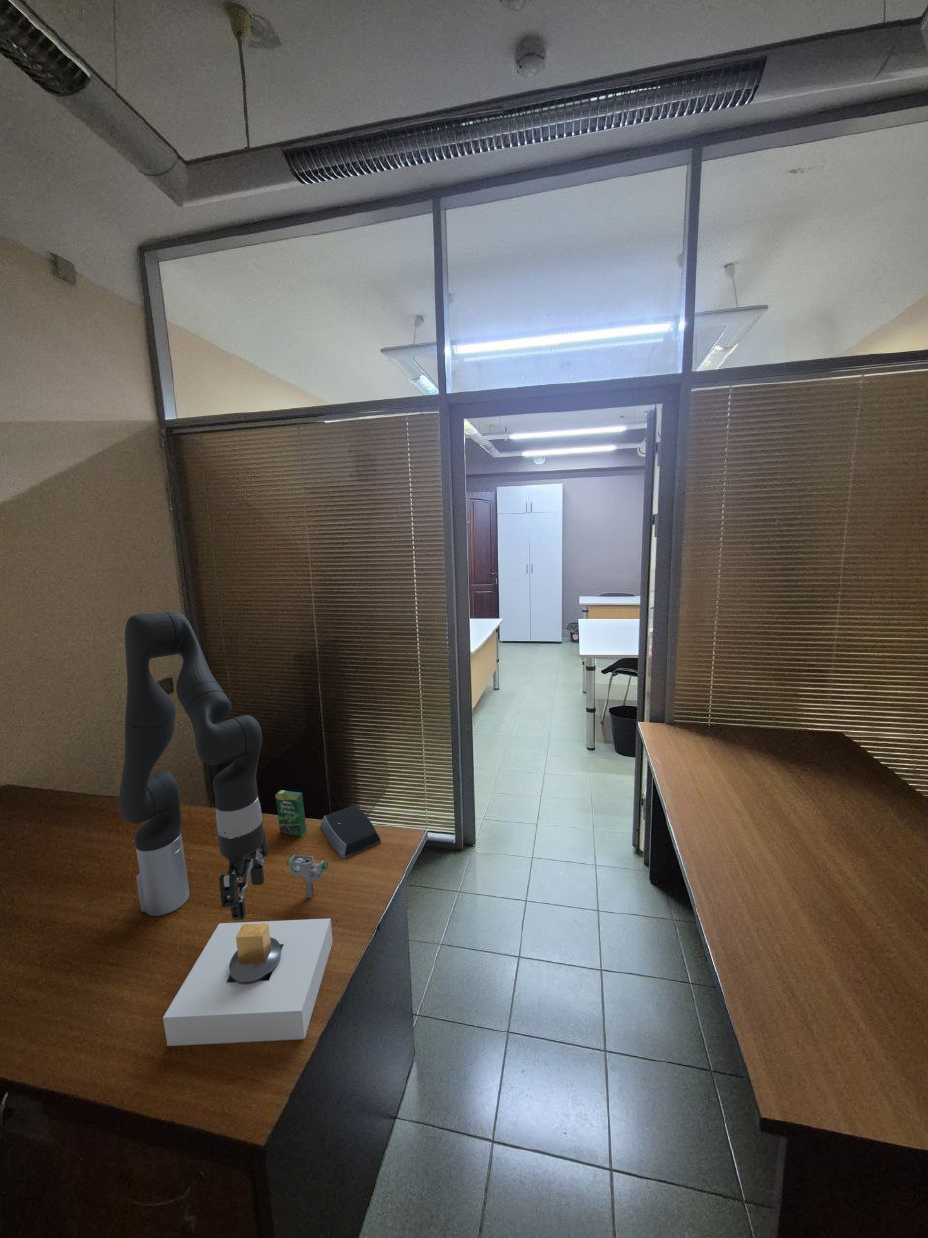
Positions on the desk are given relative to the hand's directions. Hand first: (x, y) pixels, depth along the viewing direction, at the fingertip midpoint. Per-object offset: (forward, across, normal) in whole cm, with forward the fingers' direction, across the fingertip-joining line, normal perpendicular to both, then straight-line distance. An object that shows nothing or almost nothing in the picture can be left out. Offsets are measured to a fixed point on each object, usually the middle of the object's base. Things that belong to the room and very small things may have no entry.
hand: (249, 900), depth 88 cm
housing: (+20, 0, 0) cm, 20 cm away
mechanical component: (+20, -24, +3) cm, 31 cm away
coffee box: (+20, -50, -10) cm, 55 cm away
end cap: (+20, 0, 0) cm, 20 cm away
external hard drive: (+20, -48, +8) cm, 53 cm away
